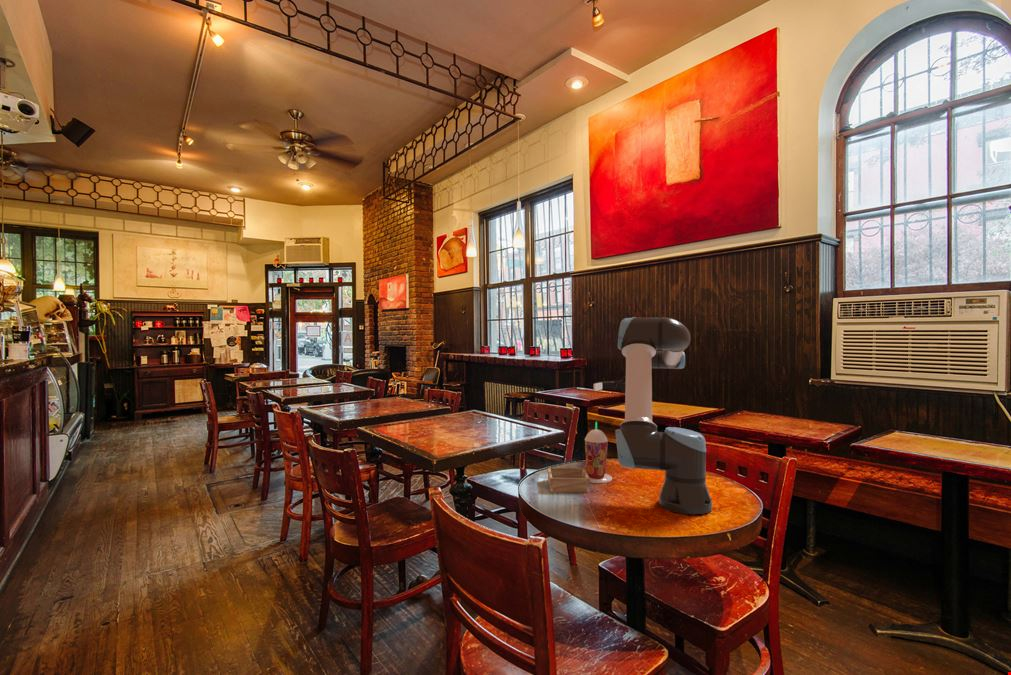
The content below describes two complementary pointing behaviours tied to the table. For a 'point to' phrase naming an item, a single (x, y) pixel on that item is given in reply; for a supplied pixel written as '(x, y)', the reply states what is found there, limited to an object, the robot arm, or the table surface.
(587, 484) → the crate
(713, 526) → the table surface
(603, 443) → the smoothie
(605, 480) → the pale round disc
